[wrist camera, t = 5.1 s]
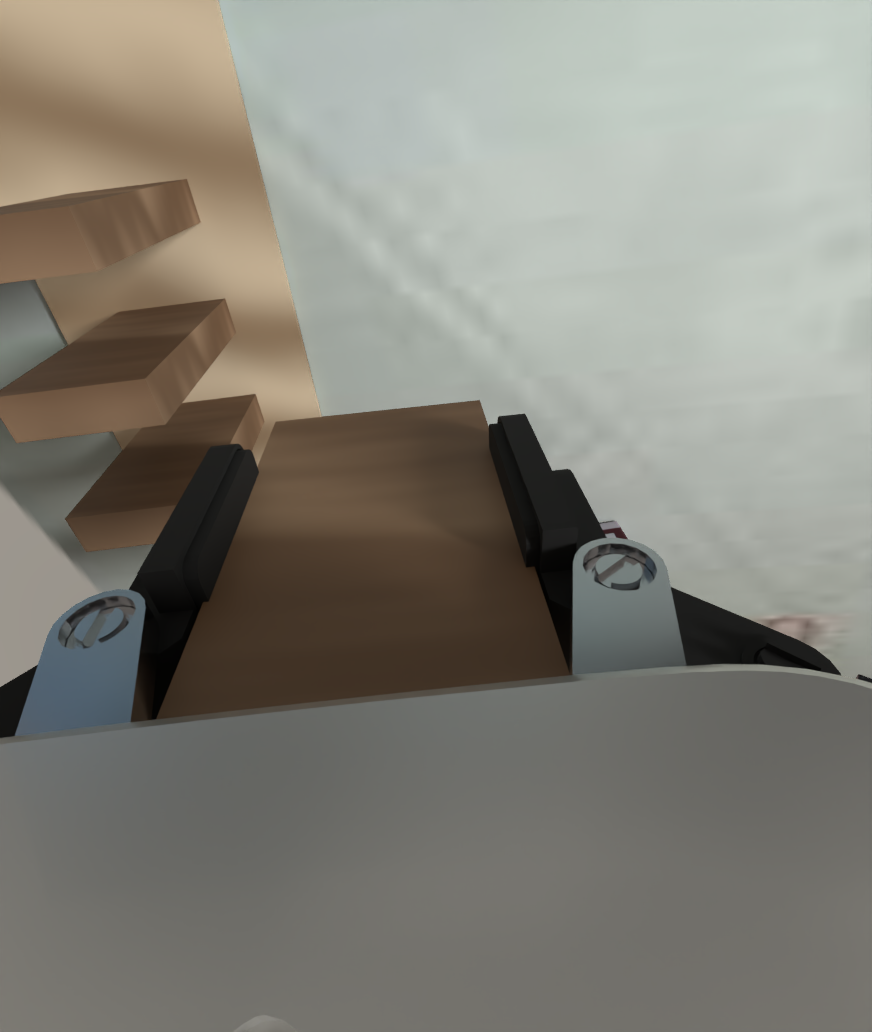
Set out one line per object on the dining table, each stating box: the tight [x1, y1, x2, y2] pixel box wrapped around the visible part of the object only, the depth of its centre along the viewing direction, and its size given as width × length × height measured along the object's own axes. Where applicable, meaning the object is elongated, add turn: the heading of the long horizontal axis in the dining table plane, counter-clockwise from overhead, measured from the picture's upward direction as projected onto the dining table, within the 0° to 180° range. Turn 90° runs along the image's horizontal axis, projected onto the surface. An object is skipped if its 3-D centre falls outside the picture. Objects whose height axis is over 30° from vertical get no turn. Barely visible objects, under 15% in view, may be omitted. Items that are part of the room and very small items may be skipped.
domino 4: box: [156, 400, 570, 719], centre depth 9 cm, size 2×5×10 cm, turn 95°
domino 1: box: [0, 179, 201, 284], centre depth 18 cm, size 2×5×10 cm, turn 96°
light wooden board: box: [0, 0, 322, 467], centre depth 25 cm, size 26×11×1 cm, turn 6°
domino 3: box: [65, 394, 265, 552], centre depth 24 cm, size 2×5×10 cm, turn 96°
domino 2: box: [0, 298, 236, 443], centre depth 21 cm, size 2×5×10 cm, turn 96°
